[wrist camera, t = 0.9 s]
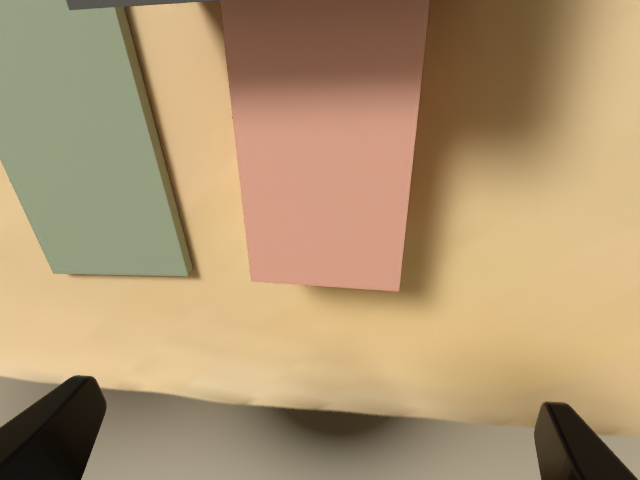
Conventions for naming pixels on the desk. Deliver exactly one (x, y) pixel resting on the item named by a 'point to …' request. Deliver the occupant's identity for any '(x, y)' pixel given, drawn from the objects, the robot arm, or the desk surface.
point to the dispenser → (120, 3)
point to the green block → (85, 142)
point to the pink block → (325, 134)
